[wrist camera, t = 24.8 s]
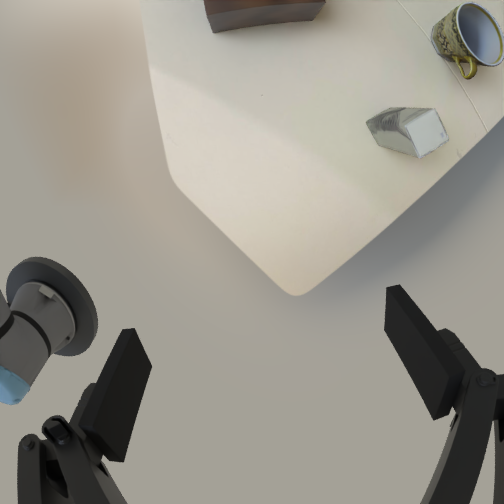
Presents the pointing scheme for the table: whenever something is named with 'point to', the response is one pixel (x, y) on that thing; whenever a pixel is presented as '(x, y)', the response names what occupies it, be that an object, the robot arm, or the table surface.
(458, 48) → the ceramic cup
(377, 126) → the box
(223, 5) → the wooden block
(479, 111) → the table surface
